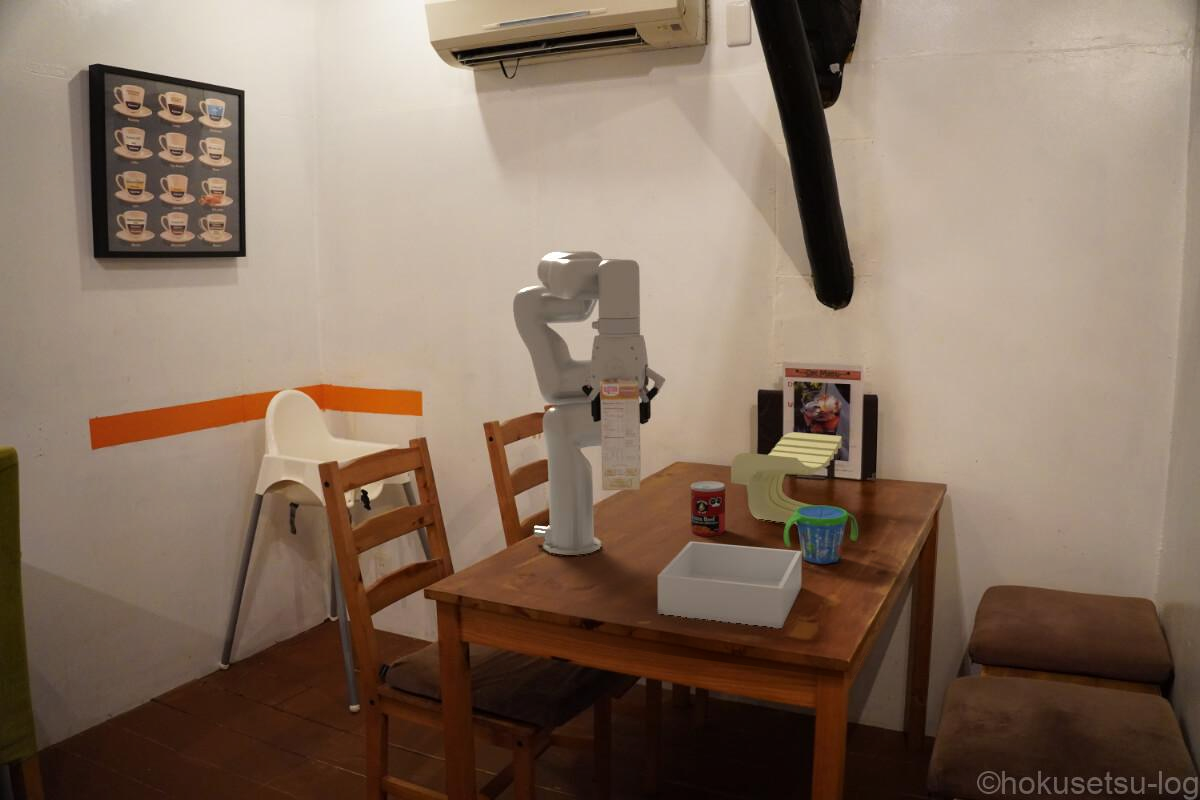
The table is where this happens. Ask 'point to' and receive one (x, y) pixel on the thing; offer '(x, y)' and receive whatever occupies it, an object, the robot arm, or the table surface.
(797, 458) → the slatted curved stool
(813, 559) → the snack cup
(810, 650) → the table surface
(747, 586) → the bin
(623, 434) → the coffeecake box
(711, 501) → the canned food
